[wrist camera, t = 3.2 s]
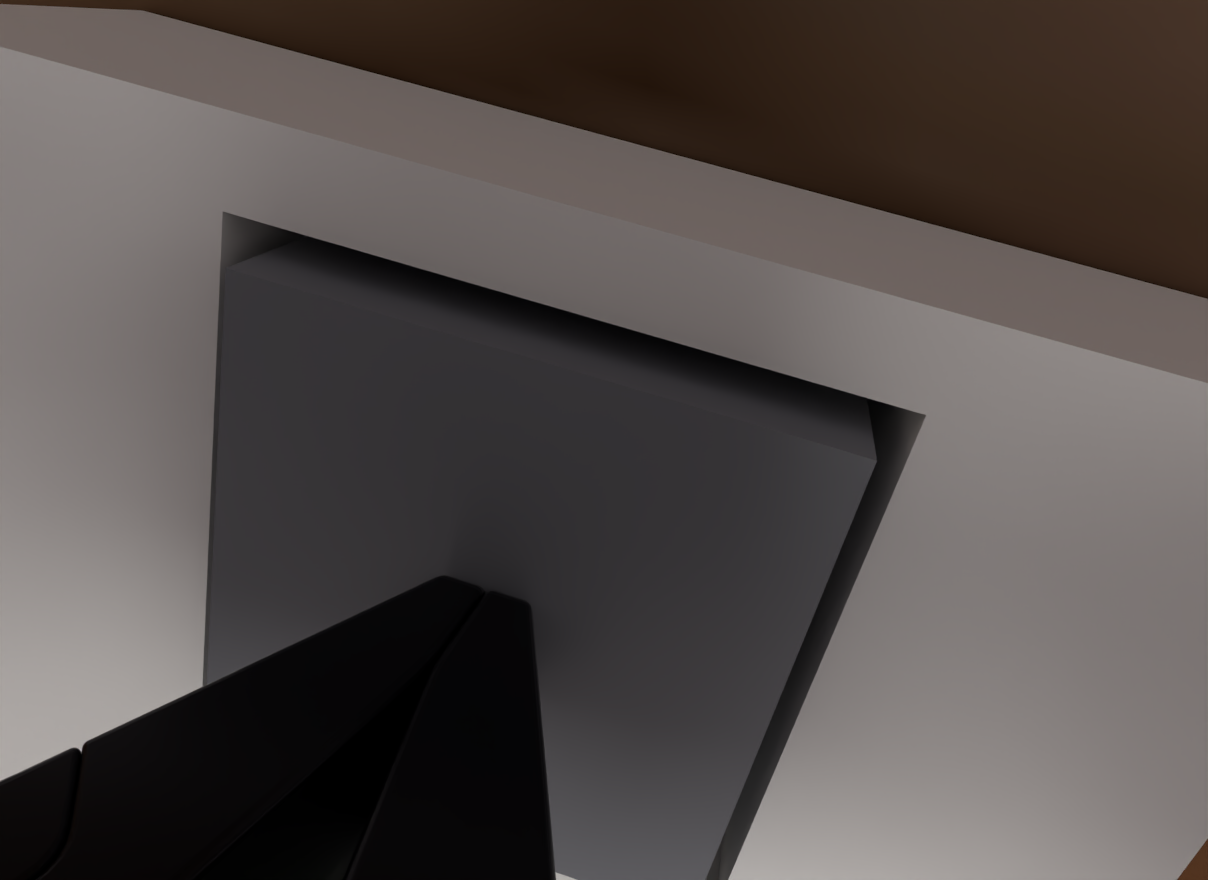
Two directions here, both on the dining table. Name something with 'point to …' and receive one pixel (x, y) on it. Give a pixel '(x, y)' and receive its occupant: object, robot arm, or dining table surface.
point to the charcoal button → (536, 519)
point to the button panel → (665, 310)
